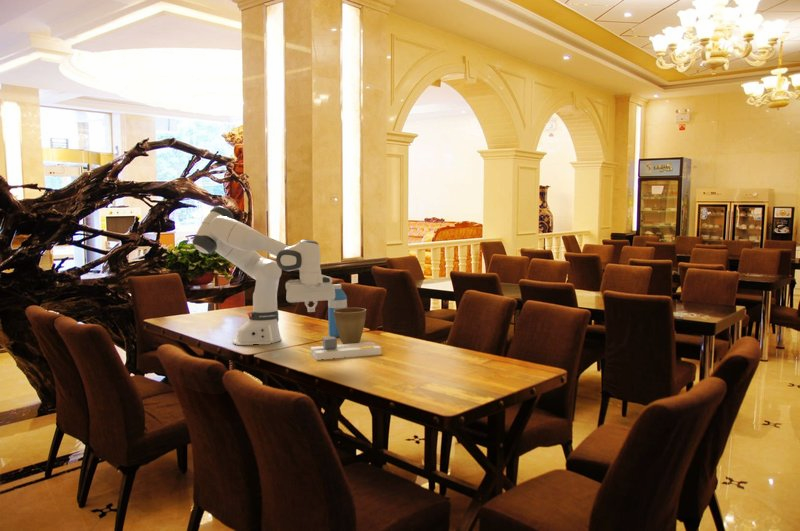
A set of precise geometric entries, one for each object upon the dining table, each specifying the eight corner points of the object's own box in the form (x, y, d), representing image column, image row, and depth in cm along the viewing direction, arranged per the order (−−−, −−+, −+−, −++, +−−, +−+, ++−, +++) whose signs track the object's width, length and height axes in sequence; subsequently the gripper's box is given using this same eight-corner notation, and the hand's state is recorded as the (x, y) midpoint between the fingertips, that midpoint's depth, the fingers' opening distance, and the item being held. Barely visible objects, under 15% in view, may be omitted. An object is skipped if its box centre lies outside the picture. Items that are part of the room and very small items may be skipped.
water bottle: (349, 333, 311) (348, 283, 308) (345, 336, 301) (344, 285, 299) (330, 332, 312) (329, 283, 309) (326, 336, 302) (325, 285, 300)
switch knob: (325, 353, 260) (325, 339, 259) (322, 350, 265) (322, 337, 264) (336, 352, 262) (336, 338, 261) (334, 349, 266) (333, 336, 266)
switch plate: (316, 360, 255) (316, 352, 255) (310, 353, 267) (310, 346, 266) (381, 354, 265) (381, 346, 265) (372, 348, 276) (372, 341, 276)
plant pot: (363, 340, 294) (363, 306, 292) (369, 346, 279) (368, 311, 278) (332, 341, 291) (331, 307, 289) (336, 348, 276) (335, 313, 275)
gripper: (286, 280, 251) (287, 314, 253) (335, 278, 258) (336, 311, 259) (284, 279, 257) (284, 312, 258) (332, 276, 264) (333, 309, 265)
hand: (311, 311), depth 259 cm, fingers closed
